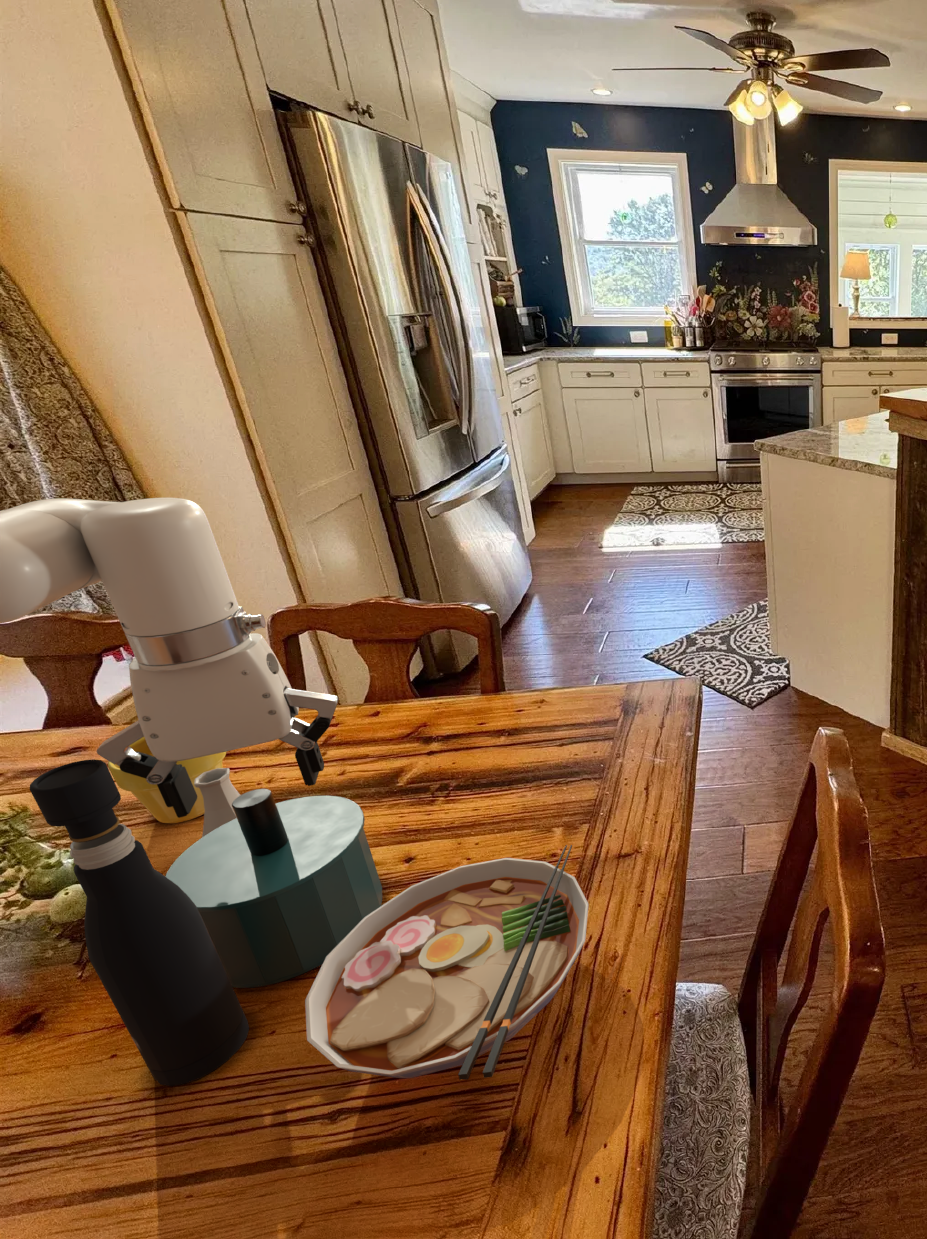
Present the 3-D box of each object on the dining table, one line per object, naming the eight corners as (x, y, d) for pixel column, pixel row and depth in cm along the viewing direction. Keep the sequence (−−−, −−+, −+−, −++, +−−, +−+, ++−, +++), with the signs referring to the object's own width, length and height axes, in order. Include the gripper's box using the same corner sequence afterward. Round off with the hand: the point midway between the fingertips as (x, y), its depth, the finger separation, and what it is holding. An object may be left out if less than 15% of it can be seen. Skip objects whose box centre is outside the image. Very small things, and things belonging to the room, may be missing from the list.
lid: (139, 942, 61) (109, 880, 59) (195, 831, 74) (171, 776, 72) (356, 878, 69) (337, 821, 66) (373, 787, 81) (357, 736, 79)
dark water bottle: (267, 1015, 66) (153, 748, 55) (209, 1086, 60) (67, 802, 49) (197, 1016, 65) (68, 748, 54) (131, 1087, 59) (-29, 802, 48)
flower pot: (223, 823, 89) (197, 759, 86) (118, 843, 86) (86, 777, 82) (255, 775, 98) (233, 716, 95) (161, 792, 95) (134, 731, 91)
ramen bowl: (415, 907, 78) (398, 849, 75) (625, 895, 80) (617, 838, 77) (250, 1162, 54) (215, 1094, 51) (552, 1135, 57) (536, 1068, 54)
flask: (215, 829, 88) (188, 764, 85) (285, 817, 91) (261, 752, 87) (186, 870, 82) (156, 801, 78) (262, 855, 84) (236, 787, 81)
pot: (187, 1013, 66) (147, 930, 62) (229, 903, 78) (198, 828, 74) (375, 950, 72) (349, 872, 69) (387, 858, 84) (366, 787, 81)
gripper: (317, 604, 69) (362, 748, 76) (75, 640, 61) (148, 798, 68) (303, 633, 63) (354, 787, 69) (33, 678, 55) (118, 847, 62)
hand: (252, 792), depth 69 cm, fingers open, 9 cm apart
